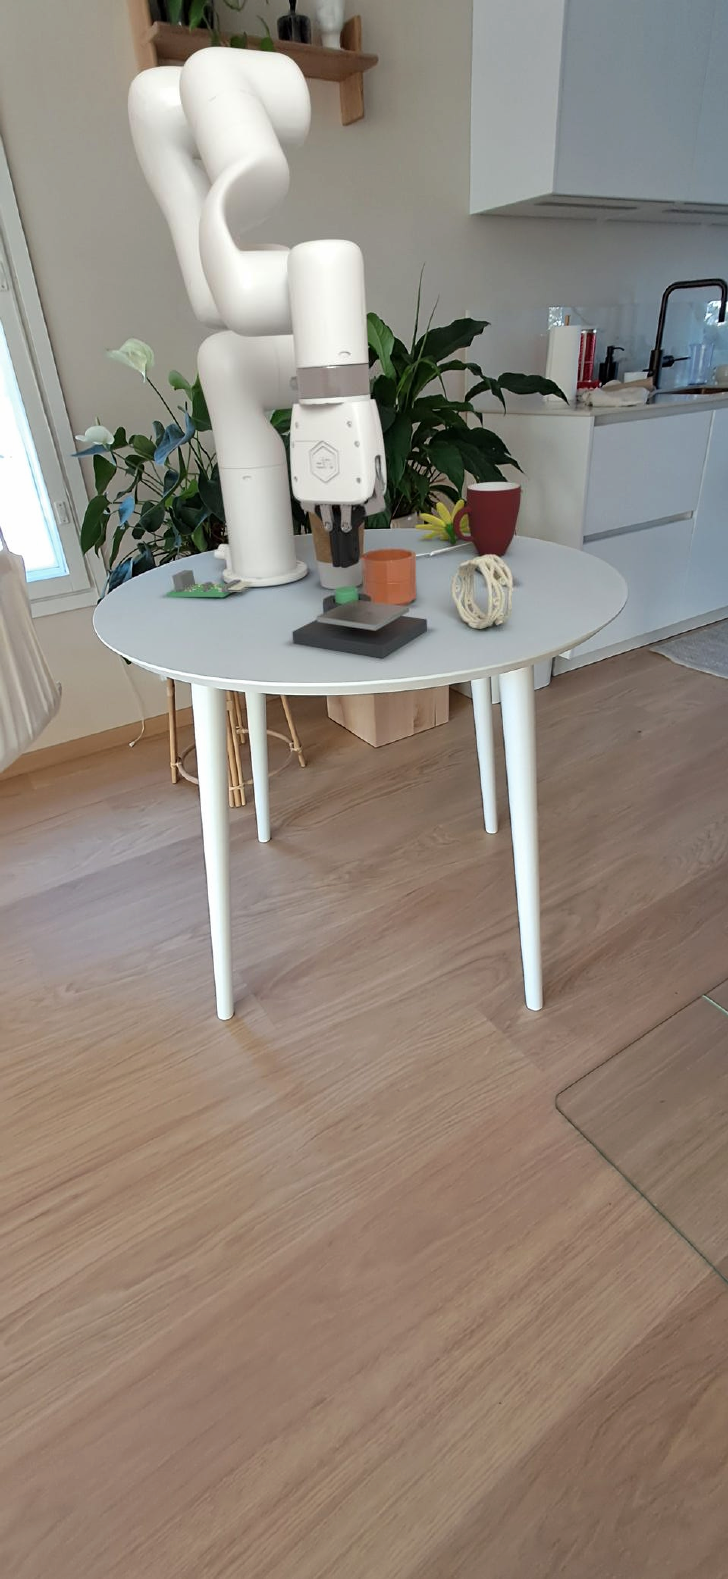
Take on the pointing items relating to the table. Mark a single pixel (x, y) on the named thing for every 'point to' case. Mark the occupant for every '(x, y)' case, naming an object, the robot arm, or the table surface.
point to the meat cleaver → (494, 574)
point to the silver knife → (442, 550)
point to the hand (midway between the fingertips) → (346, 564)
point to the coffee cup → (327, 572)
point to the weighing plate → (363, 614)
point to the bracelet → (491, 582)
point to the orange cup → (389, 576)
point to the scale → (360, 634)
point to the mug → (490, 516)
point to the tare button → (346, 594)
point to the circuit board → (202, 587)
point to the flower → (444, 523)
